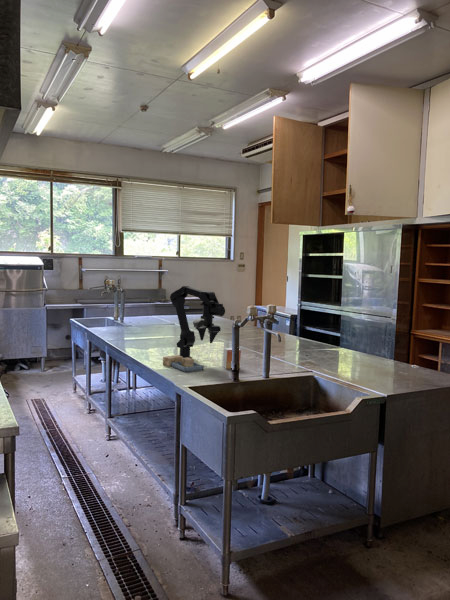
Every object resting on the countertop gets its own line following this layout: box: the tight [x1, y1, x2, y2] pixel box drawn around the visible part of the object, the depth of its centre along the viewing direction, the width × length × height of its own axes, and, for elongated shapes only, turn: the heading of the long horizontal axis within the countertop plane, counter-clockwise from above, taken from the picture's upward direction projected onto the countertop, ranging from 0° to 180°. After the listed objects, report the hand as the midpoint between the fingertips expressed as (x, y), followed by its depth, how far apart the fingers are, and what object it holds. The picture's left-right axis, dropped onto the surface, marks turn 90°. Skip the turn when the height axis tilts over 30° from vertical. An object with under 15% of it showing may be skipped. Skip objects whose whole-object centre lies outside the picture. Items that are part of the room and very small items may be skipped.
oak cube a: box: [181, 357, 194, 367], centre depth 248 cm, size 4×4×4 cm
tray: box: [170, 361, 204, 373], centre depth 248 cm, size 14×12×2 cm
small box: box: [222, 347, 242, 370], centre depth 254 cm, size 8×6×10 cm
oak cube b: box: [171, 354, 183, 362], centre depth 255 cm, size 4×4×4 cm
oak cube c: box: [162, 355, 175, 367], centre depth 252 cm, size 4×4×4 cm
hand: (206, 341), depth 262 cm, fingers open, 9 cm apart
